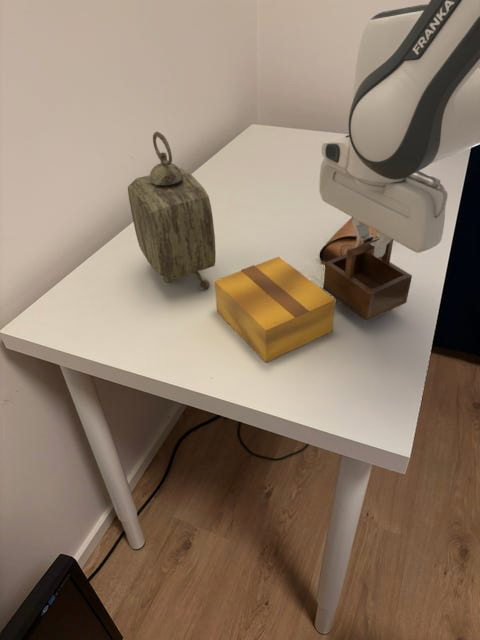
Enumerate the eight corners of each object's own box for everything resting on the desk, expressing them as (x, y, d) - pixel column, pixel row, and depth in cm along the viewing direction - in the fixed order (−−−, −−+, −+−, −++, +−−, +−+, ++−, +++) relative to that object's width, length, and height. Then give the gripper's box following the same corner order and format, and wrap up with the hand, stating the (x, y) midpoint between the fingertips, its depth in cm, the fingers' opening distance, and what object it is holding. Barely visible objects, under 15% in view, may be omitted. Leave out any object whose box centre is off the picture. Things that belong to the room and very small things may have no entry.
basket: (406, 302, 73) (418, 247, 67) (366, 321, 70) (375, 266, 64) (361, 272, 80) (368, 220, 74) (323, 289, 77) (326, 235, 71)
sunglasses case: (363, 273, 83) (348, 239, 81) (329, 280, 88) (314, 248, 86) (398, 228, 95) (385, 197, 93) (366, 237, 100) (353, 208, 97)
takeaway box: (332, 331, 73) (335, 299, 69) (266, 362, 68) (266, 330, 64) (278, 286, 82) (278, 255, 78) (216, 311, 78) (214, 279, 74)
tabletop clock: (219, 291, 82) (207, 143, 66) (168, 308, 79) (143, 156, 63) (186, 252, 92) (169, 115, 76) (140, 265, 89) (112, 126, 73)
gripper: (468, 176, 55) (442, 276, 64) (348, 130, 69) (341, 218, 78) (429, 190, 53) (408, 292, 62) (313, 140, 67) (309, 229, 76)
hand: (370, 250), depth 70 cm, fingers closed on basket
